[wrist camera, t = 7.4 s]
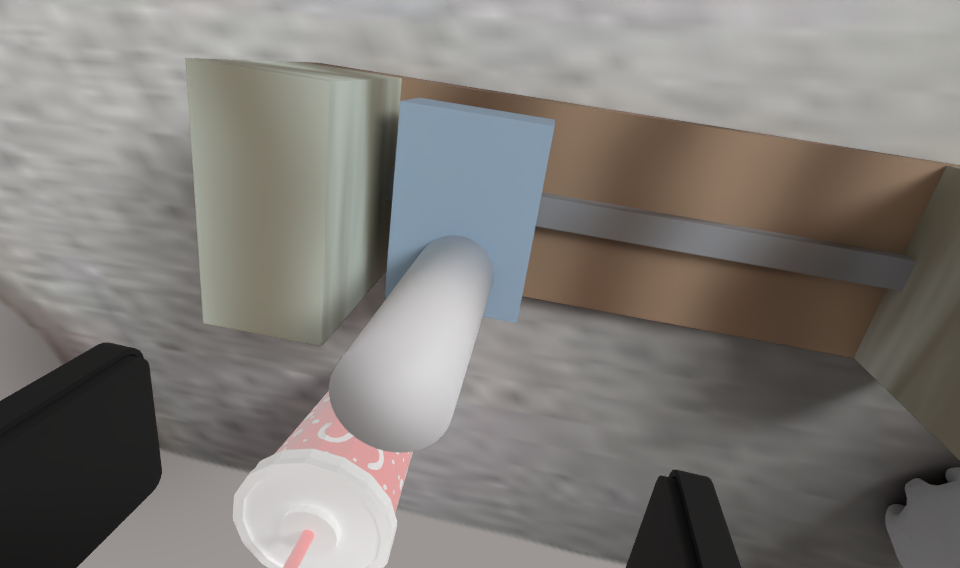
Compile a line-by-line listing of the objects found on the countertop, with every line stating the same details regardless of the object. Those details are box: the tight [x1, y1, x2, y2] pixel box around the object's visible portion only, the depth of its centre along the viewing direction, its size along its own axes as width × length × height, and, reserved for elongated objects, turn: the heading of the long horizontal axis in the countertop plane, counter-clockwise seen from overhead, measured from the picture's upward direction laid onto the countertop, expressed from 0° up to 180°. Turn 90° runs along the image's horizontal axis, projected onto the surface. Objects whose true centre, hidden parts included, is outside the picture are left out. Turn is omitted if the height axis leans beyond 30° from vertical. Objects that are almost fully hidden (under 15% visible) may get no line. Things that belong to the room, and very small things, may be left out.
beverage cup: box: [233, 391, 413, 568], centre depth 21 cm, size 6×6×14 cm
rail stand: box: [185, 58, 960, 460], centre depth 19 cm, size 28×8×8 cm, turn 82°
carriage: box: [329, 98, 555, 453], centre depth 16 cm, size 5×7×10 cm
